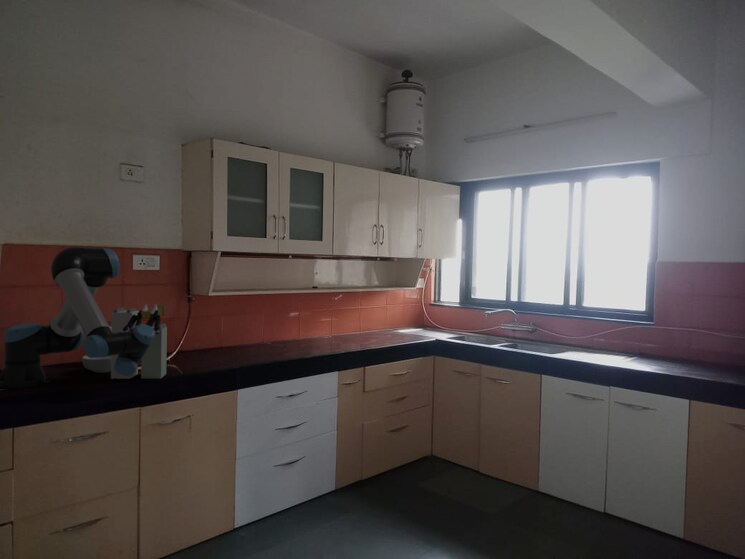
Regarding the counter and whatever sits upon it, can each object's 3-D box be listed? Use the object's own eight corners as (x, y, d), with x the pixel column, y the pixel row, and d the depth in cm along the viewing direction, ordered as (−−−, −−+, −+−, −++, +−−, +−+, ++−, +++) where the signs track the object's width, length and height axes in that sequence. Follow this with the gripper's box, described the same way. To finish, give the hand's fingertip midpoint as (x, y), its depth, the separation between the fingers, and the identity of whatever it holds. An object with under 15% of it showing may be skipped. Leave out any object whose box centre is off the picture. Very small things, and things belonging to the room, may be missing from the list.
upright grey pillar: (141, 378, 212) (141, 325, 211) (147, 373, 221) (148, 323, 220) (160, 378, 213) (161, 326, 213) (166, 373, 222) (167, 323, 222)
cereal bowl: (119, 365, 236) (119, 350, 236) (129, 372, 223) (130, 356, 223) (78, 369, 225) (78, 354, 224) (86, 377, 212) (87, 360, 212)
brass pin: (140, 320, 203) (140, 309, 202) (155, 314, 225) (155, 304, 225) (151, 320, 203) (151, 310, 203) (166, 314, 226) (166, 305, 226)
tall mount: (110, 378, 210) (111, 309, 209) (118, 373, 219) (119, 307, 218) (131, 378, 212) (132, 309, 211) (137, 373, 220) (138, 307, 219)
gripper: (114, 350, 191) (132, 313, 211) (159, 349, 194) (172, 314, 214) (111, 334, 188) (129, 299, 207) (157, 334, 190) (170, 299, 210)
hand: (151, 307), depth 210 cm, fingers closed on brass pin, 3 cm apart
